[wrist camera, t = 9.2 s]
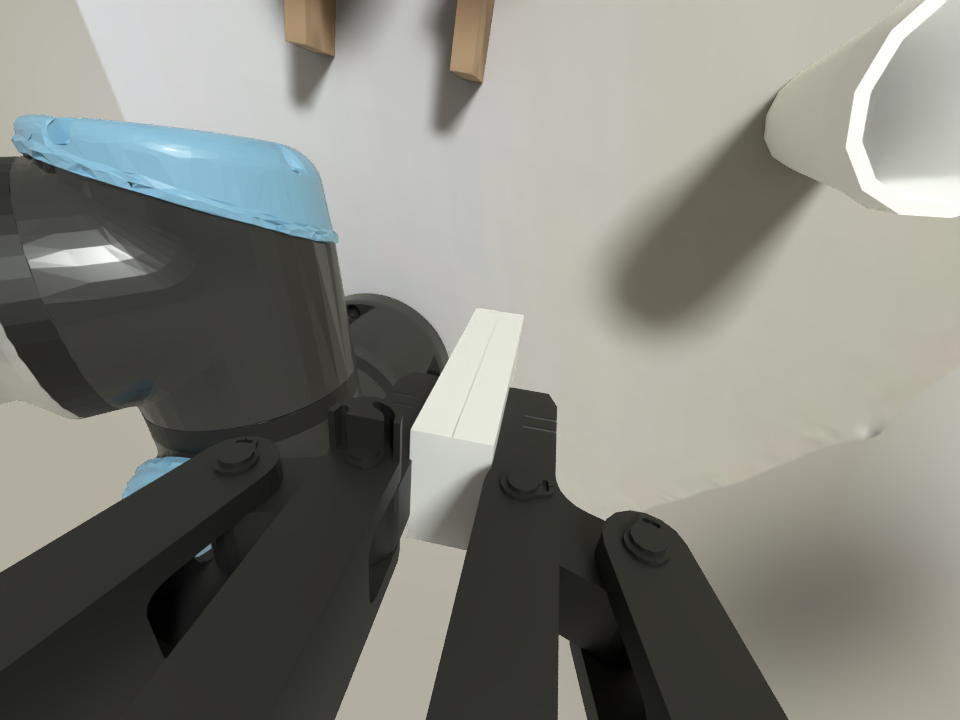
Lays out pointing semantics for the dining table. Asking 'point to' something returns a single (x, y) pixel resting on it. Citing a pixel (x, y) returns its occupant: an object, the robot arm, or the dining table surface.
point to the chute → (315, 31)
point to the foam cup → (881, 114)
